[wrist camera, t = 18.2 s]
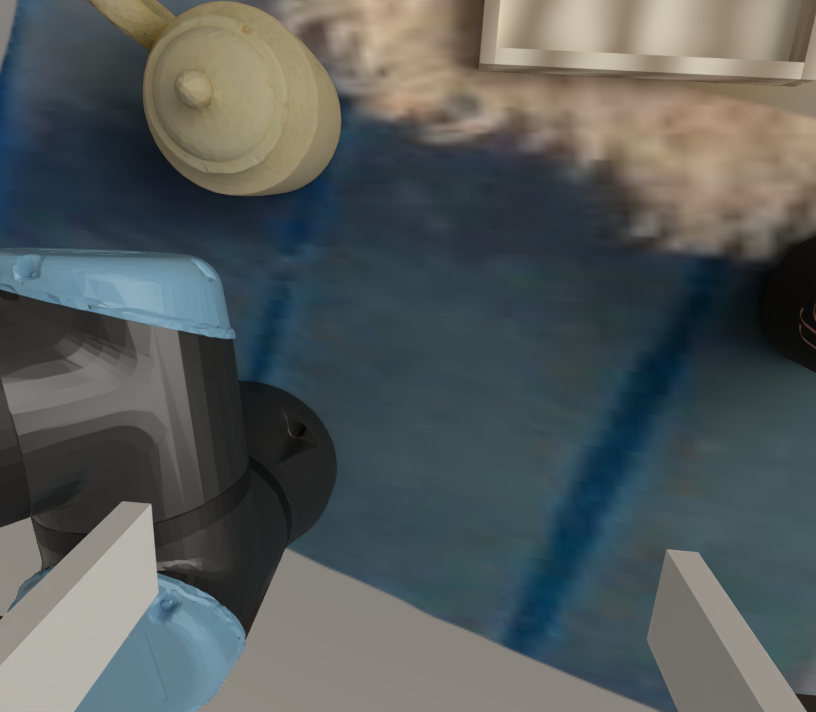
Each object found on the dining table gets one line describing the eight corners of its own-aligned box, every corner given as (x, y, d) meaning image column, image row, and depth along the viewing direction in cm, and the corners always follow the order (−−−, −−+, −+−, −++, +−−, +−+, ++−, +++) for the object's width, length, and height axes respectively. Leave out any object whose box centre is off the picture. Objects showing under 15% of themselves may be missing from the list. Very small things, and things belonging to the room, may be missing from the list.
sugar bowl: (139, 157, 44) (-11, 143, 30) (160, 0, 41) (4, -101, 26) (324, 212, 44) (265, 225, 30) (359, 60, 41) (312, -7, 27)
